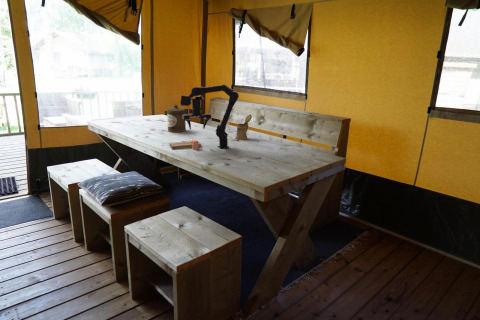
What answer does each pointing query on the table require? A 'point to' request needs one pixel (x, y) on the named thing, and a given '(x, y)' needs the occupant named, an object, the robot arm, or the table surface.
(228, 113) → the robot arm
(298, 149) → the table surface
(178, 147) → the board
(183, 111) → the wooden container
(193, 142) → the pink and yellow hammer
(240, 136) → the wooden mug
